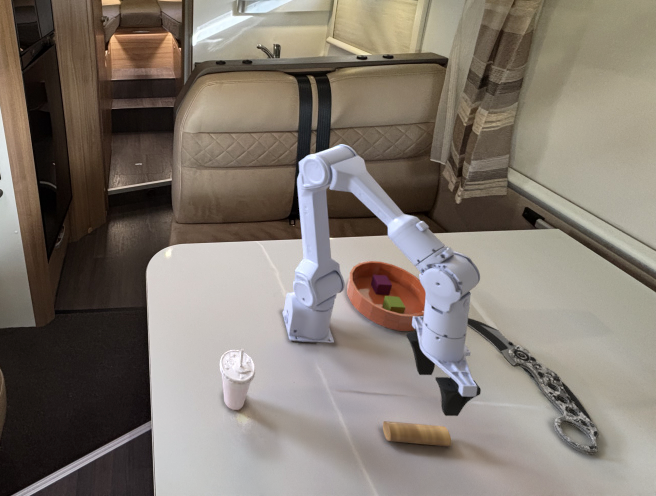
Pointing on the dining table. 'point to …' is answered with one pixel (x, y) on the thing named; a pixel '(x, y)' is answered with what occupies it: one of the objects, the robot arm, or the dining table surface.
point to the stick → (416, 433)
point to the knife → (545, 386)
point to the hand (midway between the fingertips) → (436, 392)
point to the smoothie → (236, 377)
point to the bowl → (372, 303)
